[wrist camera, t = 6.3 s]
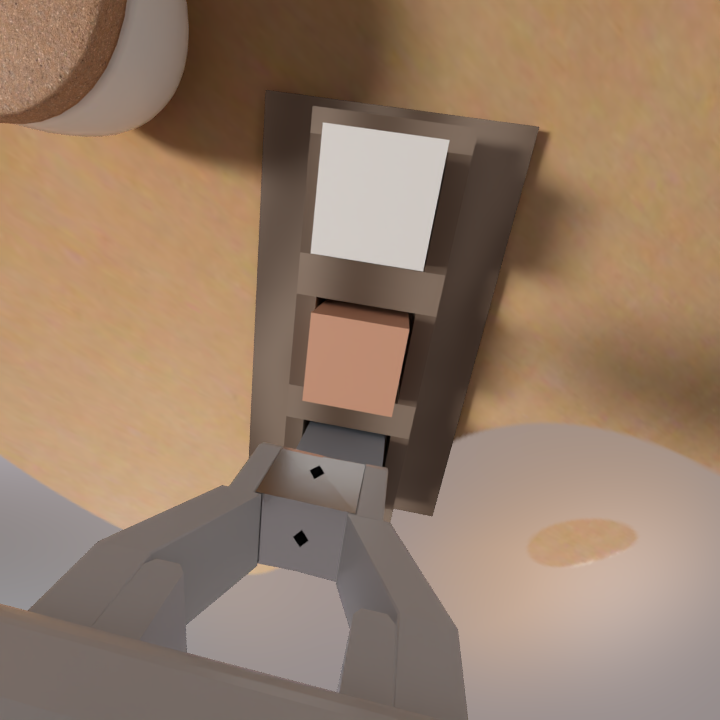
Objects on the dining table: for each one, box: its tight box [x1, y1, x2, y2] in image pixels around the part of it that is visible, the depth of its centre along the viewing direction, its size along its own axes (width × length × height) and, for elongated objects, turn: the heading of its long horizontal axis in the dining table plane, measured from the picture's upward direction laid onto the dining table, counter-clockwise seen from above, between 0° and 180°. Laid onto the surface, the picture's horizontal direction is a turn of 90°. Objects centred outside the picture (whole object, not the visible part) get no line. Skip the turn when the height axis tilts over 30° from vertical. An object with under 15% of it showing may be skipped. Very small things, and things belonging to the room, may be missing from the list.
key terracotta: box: [302, 299, 409, 417], centre depth 18 cm, size 4×4×4 cm
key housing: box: [249, 90, 539, 522], centre depth 20 cm, size 13×23×3 cm, turn 171°
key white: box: [311, 123, 450, 271], centre depth 15 cm, size 4×4×4 cm
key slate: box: [297, 421, 385, 472], centre depth 20 cm, size 4×4×4 cm
